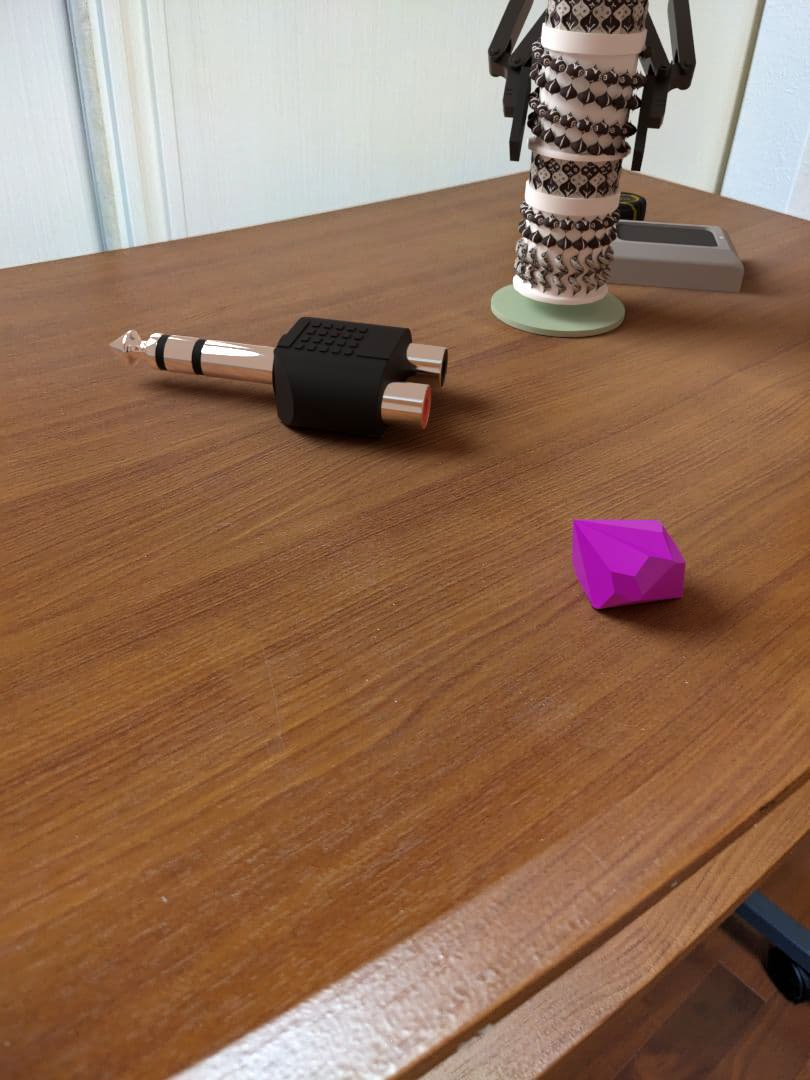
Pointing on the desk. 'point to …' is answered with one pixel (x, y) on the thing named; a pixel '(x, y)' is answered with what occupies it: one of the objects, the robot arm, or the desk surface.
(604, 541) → the crystal
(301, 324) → the audio adapter
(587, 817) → the desk surface
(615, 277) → the grey device with screen
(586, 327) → the coaster
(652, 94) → the robot arm
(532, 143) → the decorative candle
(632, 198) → the tape measure
